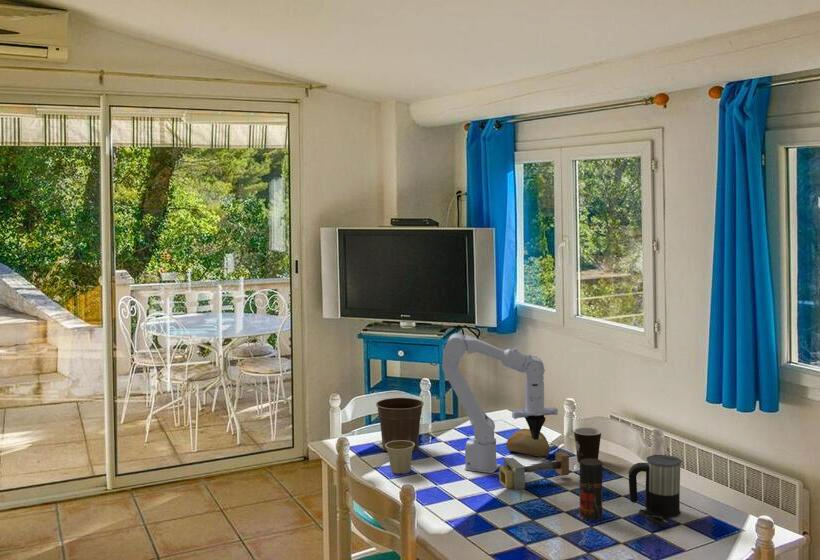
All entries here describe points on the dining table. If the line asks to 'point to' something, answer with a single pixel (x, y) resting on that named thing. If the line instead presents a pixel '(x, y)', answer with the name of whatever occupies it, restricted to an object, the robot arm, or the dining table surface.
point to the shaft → (552, 465)
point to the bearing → (516, 472)
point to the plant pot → (400, 419)
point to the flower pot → (400, 455)
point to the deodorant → (591, 489)
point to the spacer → (506, 476)
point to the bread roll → (528, 443)
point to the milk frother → (658, 487)
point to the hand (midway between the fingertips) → (535, 438)
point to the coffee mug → (587, 443)
